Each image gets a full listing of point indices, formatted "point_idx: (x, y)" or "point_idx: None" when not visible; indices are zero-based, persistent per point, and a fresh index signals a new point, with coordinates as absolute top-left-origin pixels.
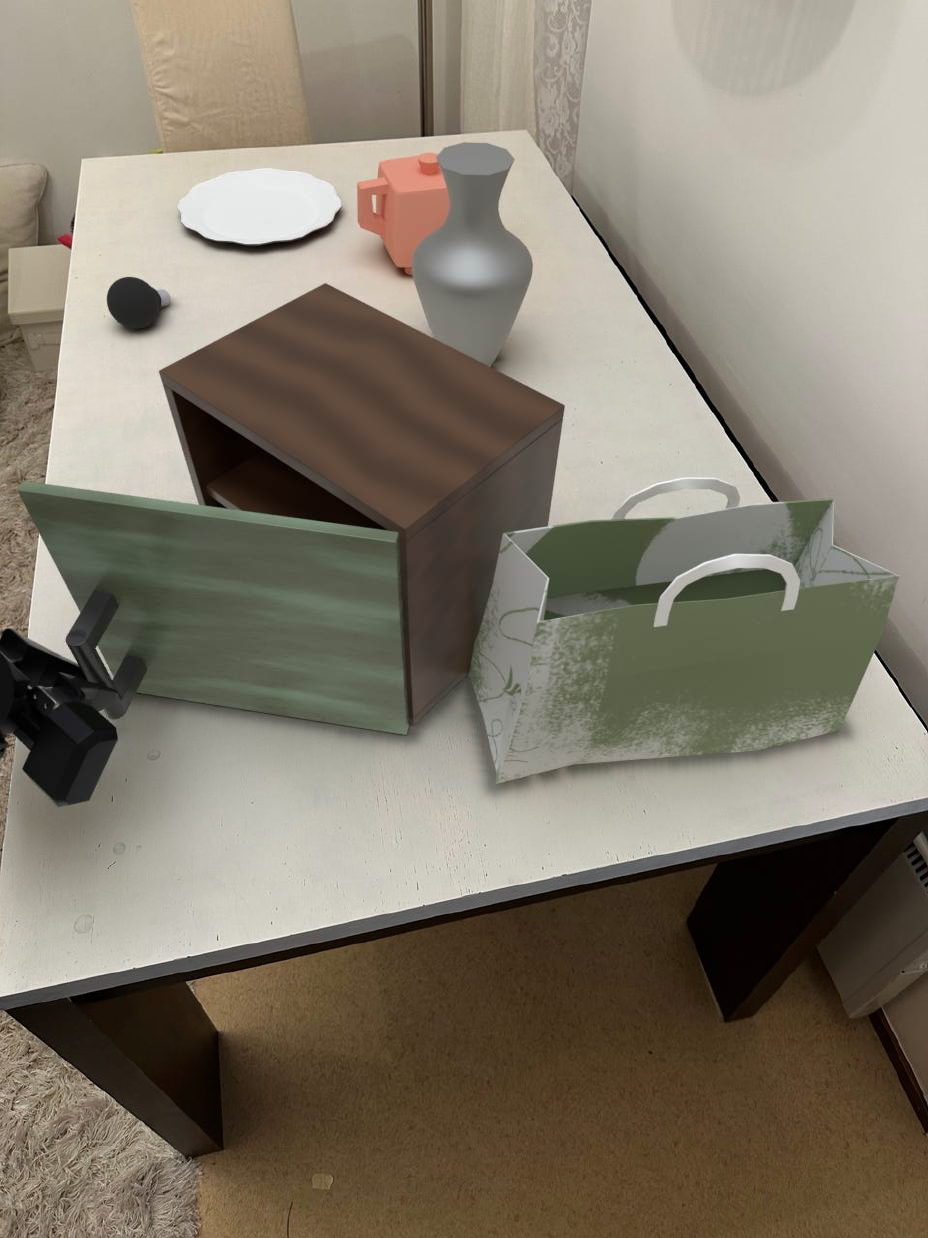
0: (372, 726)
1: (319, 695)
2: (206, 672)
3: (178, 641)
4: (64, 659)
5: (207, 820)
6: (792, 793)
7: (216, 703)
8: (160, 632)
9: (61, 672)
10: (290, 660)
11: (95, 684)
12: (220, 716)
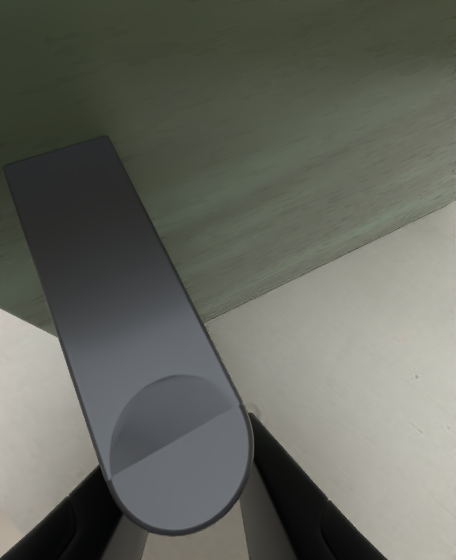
0: (430, 210)
1: (418, 199)
2: (277, 258)
3: (264, 223)
4: (105, 507)
5: (401, 441)
6: None
7: (258, 295)
8: (234, 222)
9: (126, 547)
10: (453, 146)
11: (284, 484)
12: (272, 306)
